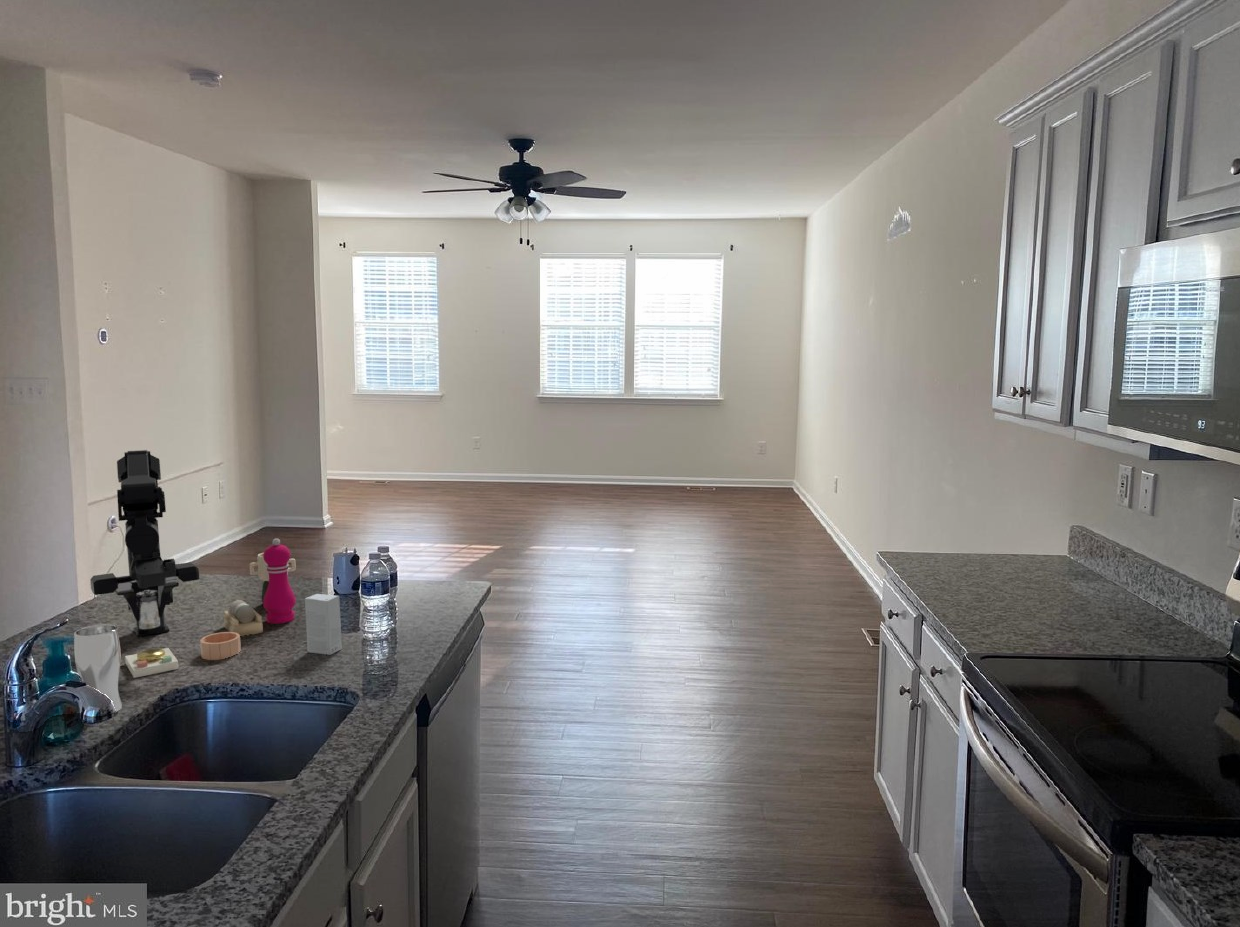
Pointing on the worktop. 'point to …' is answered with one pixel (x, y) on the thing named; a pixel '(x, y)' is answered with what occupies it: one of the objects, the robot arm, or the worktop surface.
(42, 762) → the worktop surface
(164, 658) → the white decorated slab
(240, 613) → the trough rack
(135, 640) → the worktop surface
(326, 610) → the skincare box
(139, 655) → the gold disc
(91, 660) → the beer glass
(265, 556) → the pepper mill
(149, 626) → the glass salt shaker
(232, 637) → the peach faceted bowl
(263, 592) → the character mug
